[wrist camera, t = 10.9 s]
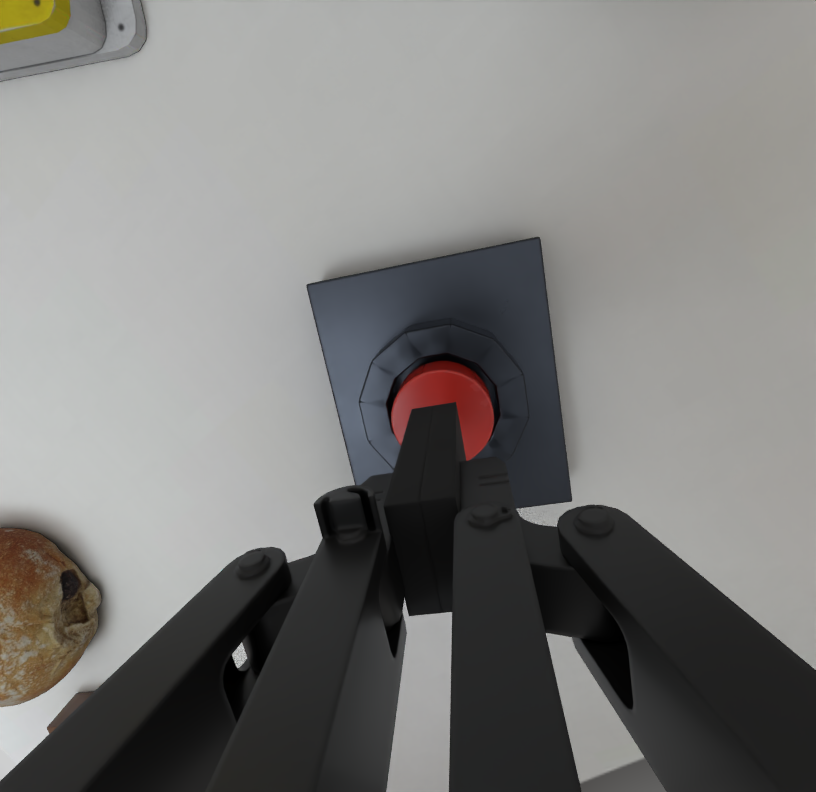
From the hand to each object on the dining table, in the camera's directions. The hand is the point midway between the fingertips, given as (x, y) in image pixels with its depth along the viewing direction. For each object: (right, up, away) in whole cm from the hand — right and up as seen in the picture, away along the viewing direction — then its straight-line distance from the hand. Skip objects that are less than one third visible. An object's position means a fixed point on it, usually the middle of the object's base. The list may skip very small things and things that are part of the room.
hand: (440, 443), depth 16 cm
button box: (+1, +2, +8) cm, 8 cm away
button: (0, +1, +4) cm, 4 cm away
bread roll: (-25, -11, +14) cm, 30 cm away
